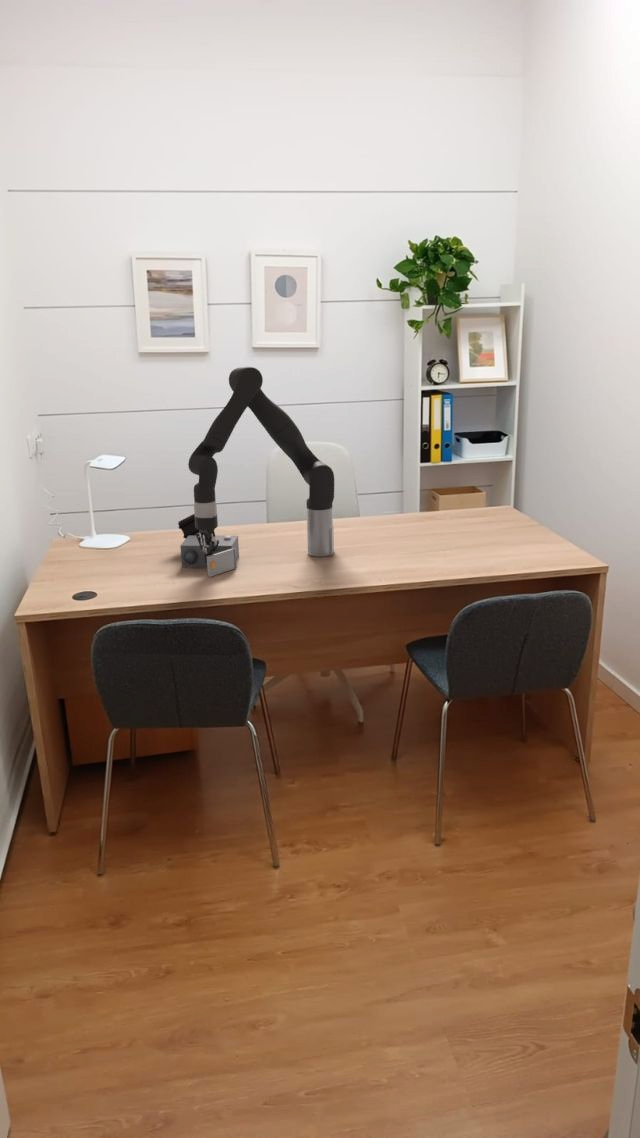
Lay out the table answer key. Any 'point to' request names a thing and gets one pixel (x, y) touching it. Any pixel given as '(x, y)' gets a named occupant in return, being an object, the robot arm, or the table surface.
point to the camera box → (195, 555)
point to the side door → (221, 562)
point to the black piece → (188, 526)
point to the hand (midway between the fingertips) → (208, 562)
